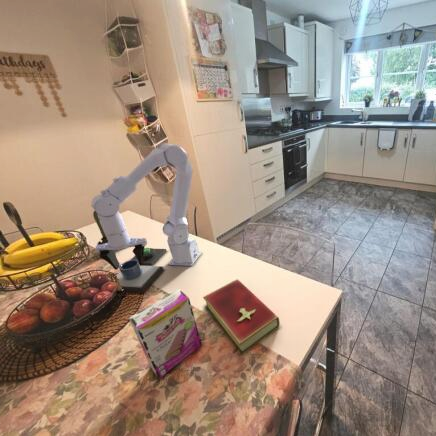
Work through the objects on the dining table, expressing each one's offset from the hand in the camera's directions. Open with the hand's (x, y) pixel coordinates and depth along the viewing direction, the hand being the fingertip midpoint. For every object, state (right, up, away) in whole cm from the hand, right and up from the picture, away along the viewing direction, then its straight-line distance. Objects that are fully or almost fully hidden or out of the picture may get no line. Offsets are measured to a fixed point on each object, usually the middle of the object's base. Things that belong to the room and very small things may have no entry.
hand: (129, 265), depth 83 cm
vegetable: (-27, +15, +23) cm, 38 cm away
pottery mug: (-21, +4, +24) cm, 33 cm away
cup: (0, -4, +2) cm, 4 cm away
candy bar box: (+27, -18, -23) cm, 40 cm away
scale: (0, -6, +3) cm, 6 cm away
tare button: (-3, +2, +14) cm, 14 cm away
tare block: (-2, 0, +15) cm, 15 cm away
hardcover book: (+41, -12, -13) cm, 44 cm away
